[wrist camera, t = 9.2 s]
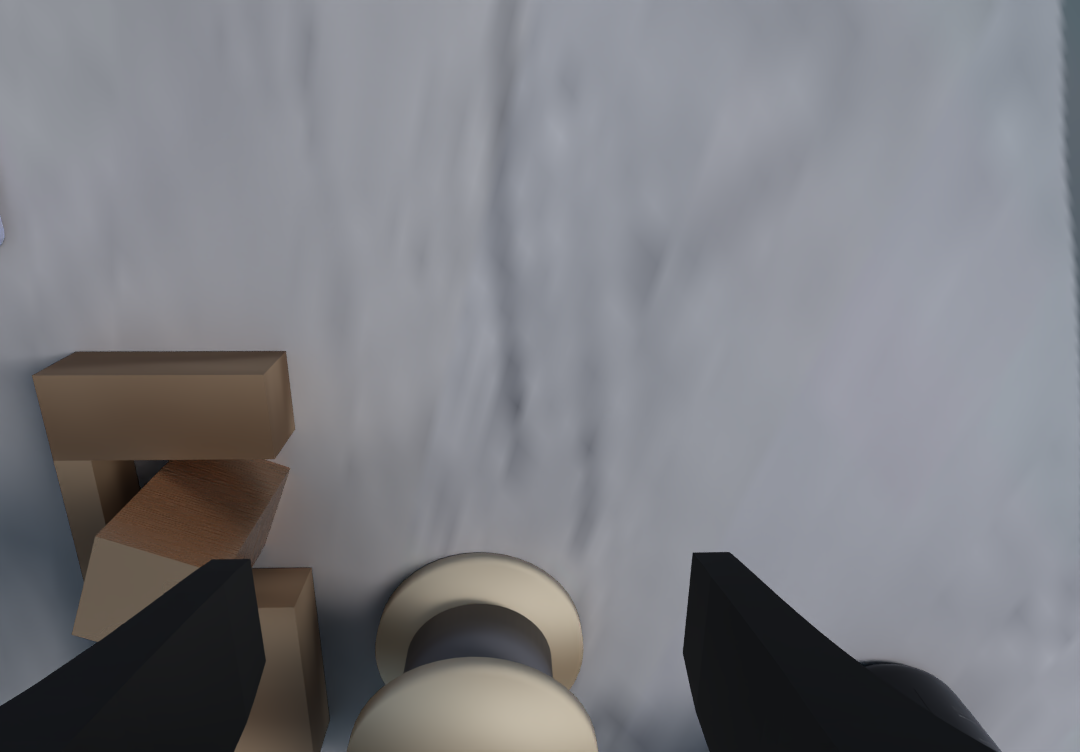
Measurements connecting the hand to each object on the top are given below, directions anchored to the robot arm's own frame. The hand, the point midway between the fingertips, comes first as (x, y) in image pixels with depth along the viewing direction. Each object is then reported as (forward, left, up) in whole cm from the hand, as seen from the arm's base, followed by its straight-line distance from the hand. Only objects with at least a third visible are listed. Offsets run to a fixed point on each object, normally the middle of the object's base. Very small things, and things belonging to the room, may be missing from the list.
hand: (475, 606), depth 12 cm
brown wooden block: (+4, -8, -10) cm, 14 cm away
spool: (+10, 0, -10) cm, 14 cm away
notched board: (+6, -9, -10) cm, 15 cm away
